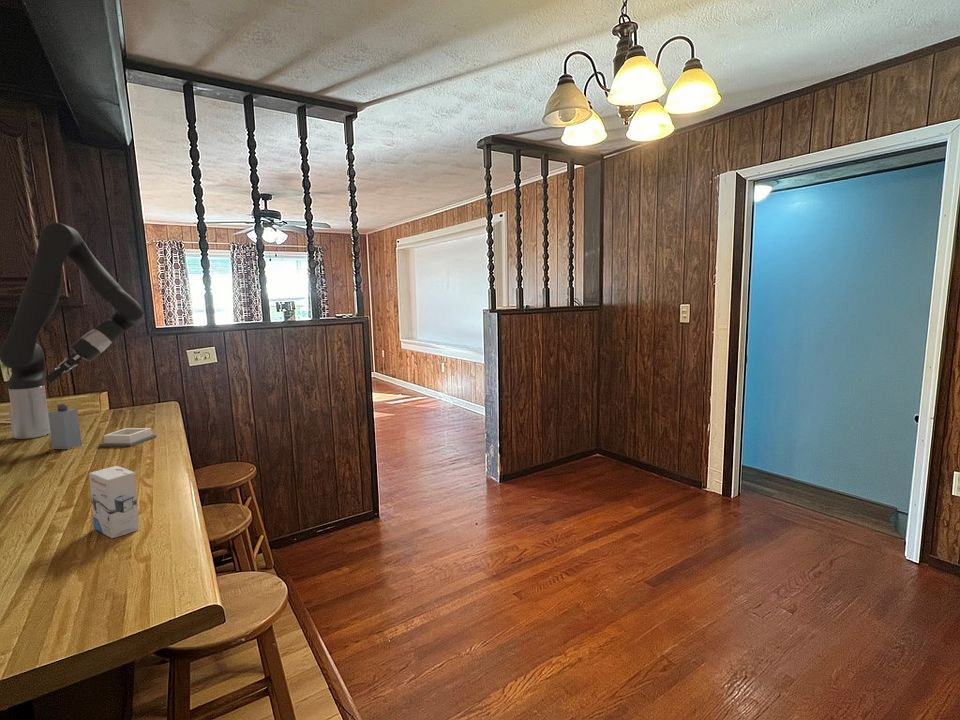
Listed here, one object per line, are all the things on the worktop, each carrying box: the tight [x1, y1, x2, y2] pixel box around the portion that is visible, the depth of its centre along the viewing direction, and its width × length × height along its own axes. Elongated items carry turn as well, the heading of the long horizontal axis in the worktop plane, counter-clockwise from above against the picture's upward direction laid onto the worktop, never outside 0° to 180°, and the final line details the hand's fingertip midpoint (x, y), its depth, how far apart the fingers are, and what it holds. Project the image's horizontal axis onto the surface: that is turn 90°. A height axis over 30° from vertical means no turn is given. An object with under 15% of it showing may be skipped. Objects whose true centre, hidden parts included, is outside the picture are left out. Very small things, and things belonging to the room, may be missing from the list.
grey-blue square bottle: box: [48, 403, 83, 450], centre depth 155 cm, size 5×5×14 cm
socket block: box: [98, 427, 158, 447], centre depth 161 cm, size 11×11×3 cm
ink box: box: [88, 465, 140, 539], centre depth 97 cm, size 9×5×12 cm, turn 58°
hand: (48, 379), depth 160 cm, fingers open, 8 cm apart
